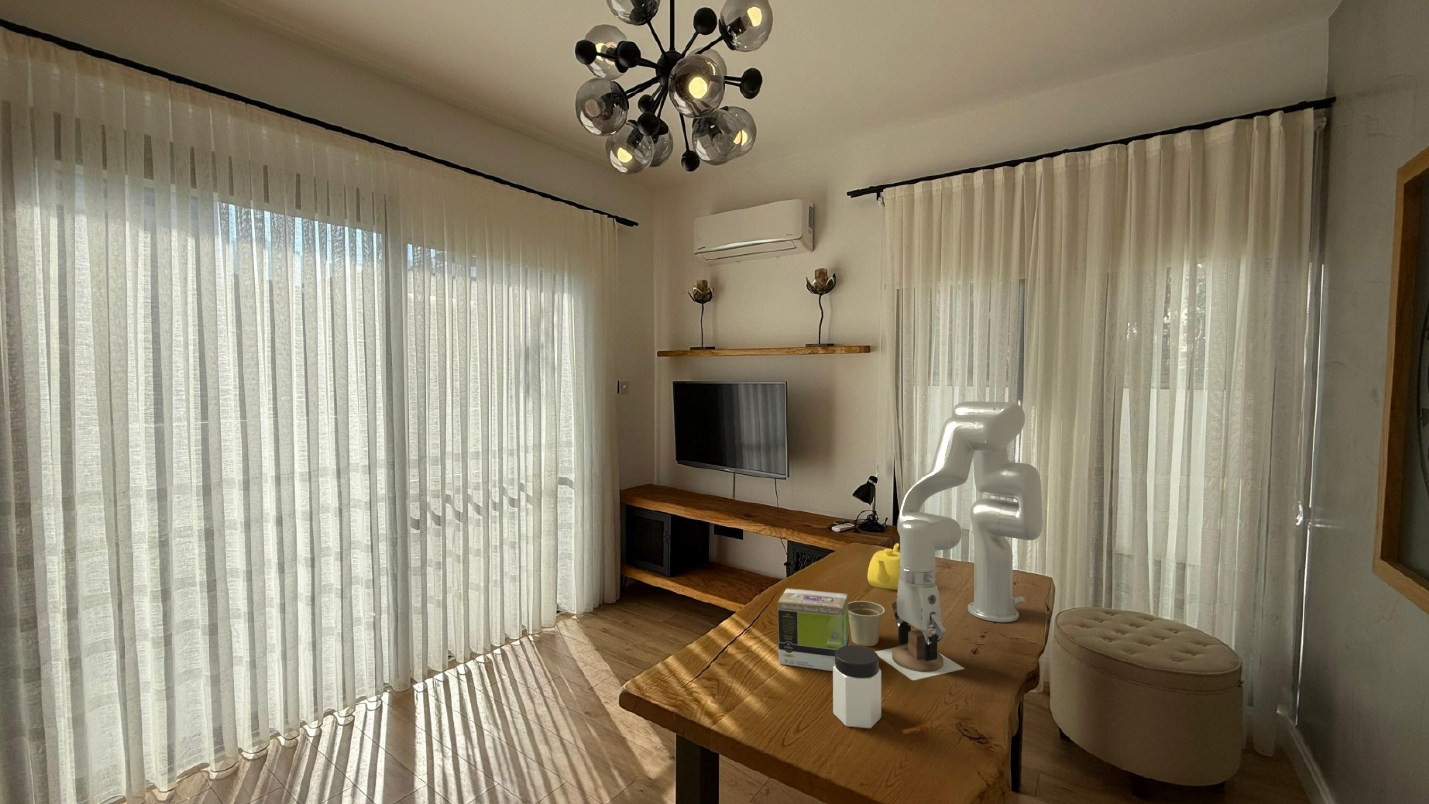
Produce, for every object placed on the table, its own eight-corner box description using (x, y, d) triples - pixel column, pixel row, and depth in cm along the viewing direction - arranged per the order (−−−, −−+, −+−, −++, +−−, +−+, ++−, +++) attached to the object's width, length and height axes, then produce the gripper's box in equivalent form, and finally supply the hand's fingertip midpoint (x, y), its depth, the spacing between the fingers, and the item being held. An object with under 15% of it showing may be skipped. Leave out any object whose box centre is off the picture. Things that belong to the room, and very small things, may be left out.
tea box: (849, 654, 137) (849, 592, 136) (844, 675, 127) (844, 608, 127) (786, 646, 141) (786, 585, 141) (777, 665, 132) (776, 600, 131)
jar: (848, 698, 117) (848, 640, 117) (886, 713, 112) (886, 652, 112) (826, 718, 111) (826, 656, 110) (866, 735, 105) (866, 670, 105)
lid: (920, 645, 139) (920, 620, 139) (954, 666, 129) (954, 639, 129) (882, 653, 135) (882, 627, 135) (914, 675, 125) (914, 647, 125)
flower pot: (886, 653, 137) (886, 616, 137) (845, 649, 139) (845, 614, 139) (883, 636, 146) (883, 602, 146) (844, 633, 148) (844, 599, 148)
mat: (921, 644, 141) (921, 642, 141) (964, 671, 128) (964, 668, 128) (872, 654, 136) (872, 652, 136) (912, 683, 123) (912, 680, 123)
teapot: (910, 599, 171) (910, 563, 170) (858, 590, 179) (858, 555, 178) (926, 577, 189) (925, 545, 189) (878, 570, 198) (878, 538, 197)
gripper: (958, 585, 125) (958, 665, 125) (905, 562, 141) (905, 633, 142) (930, 590, 122) (930, 672, 123) (879, 566, 138) (879, 638, 139)
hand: (917, 651), depth 132 cm, fingers open, 8 cm apart
